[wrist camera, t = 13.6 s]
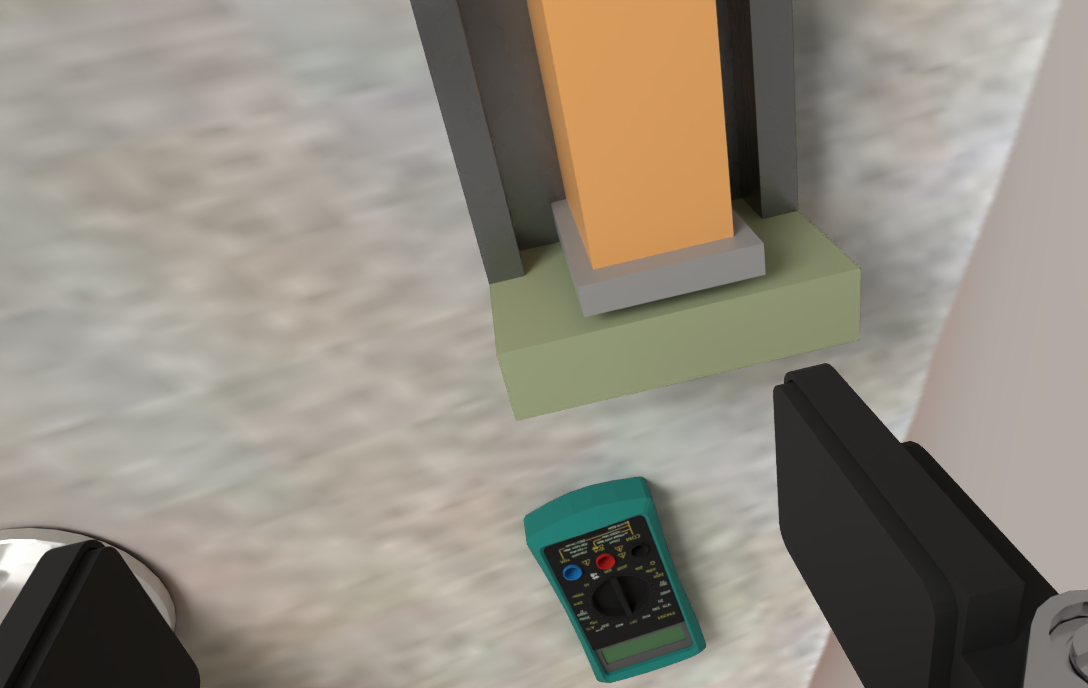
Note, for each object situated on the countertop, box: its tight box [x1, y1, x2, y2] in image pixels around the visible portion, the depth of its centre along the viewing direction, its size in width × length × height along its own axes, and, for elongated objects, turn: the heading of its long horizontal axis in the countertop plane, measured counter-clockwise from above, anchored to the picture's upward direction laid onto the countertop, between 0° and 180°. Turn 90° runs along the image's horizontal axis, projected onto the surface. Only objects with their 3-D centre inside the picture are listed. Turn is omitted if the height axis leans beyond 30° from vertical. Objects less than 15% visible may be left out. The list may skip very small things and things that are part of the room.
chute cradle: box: [410, 0, 861, 421], centre depth 26 cm, size 22×13×9 cm, turn 12°
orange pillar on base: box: [526, 0, 766, 317], centre depth 26 cm, size 13×6×8 cm, turn 12°
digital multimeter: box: [524, 477, 706, 683], centre depth 45 cm, size 7×15×3 cm, turn 19°
